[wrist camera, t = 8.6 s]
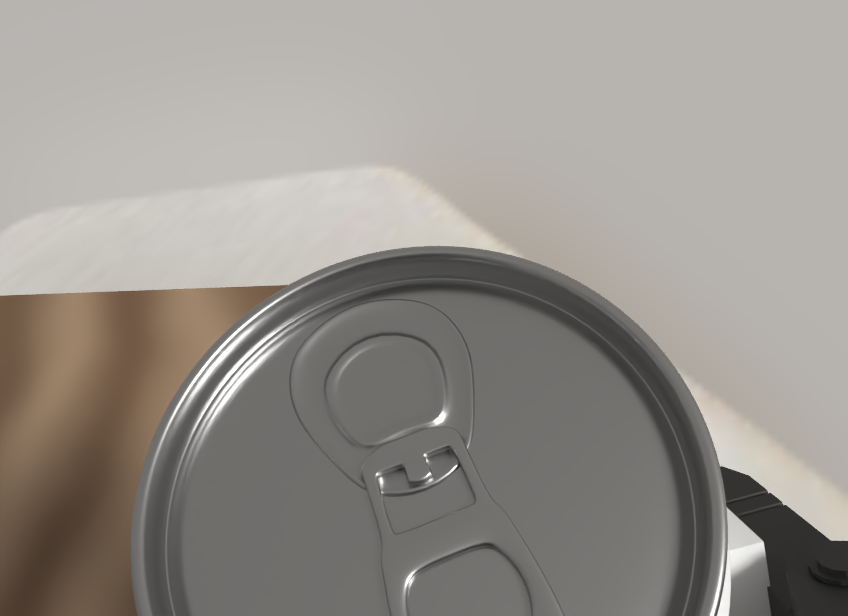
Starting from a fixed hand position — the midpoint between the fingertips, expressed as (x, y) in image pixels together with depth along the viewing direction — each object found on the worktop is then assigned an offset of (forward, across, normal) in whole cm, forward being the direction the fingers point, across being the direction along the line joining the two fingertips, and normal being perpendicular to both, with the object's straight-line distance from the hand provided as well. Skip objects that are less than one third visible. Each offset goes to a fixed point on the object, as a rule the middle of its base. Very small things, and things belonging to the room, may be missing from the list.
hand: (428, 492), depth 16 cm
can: (+1, 0, -5) cm, 5 cm away
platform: (+21, -14, -5) cm, 26 cm away
